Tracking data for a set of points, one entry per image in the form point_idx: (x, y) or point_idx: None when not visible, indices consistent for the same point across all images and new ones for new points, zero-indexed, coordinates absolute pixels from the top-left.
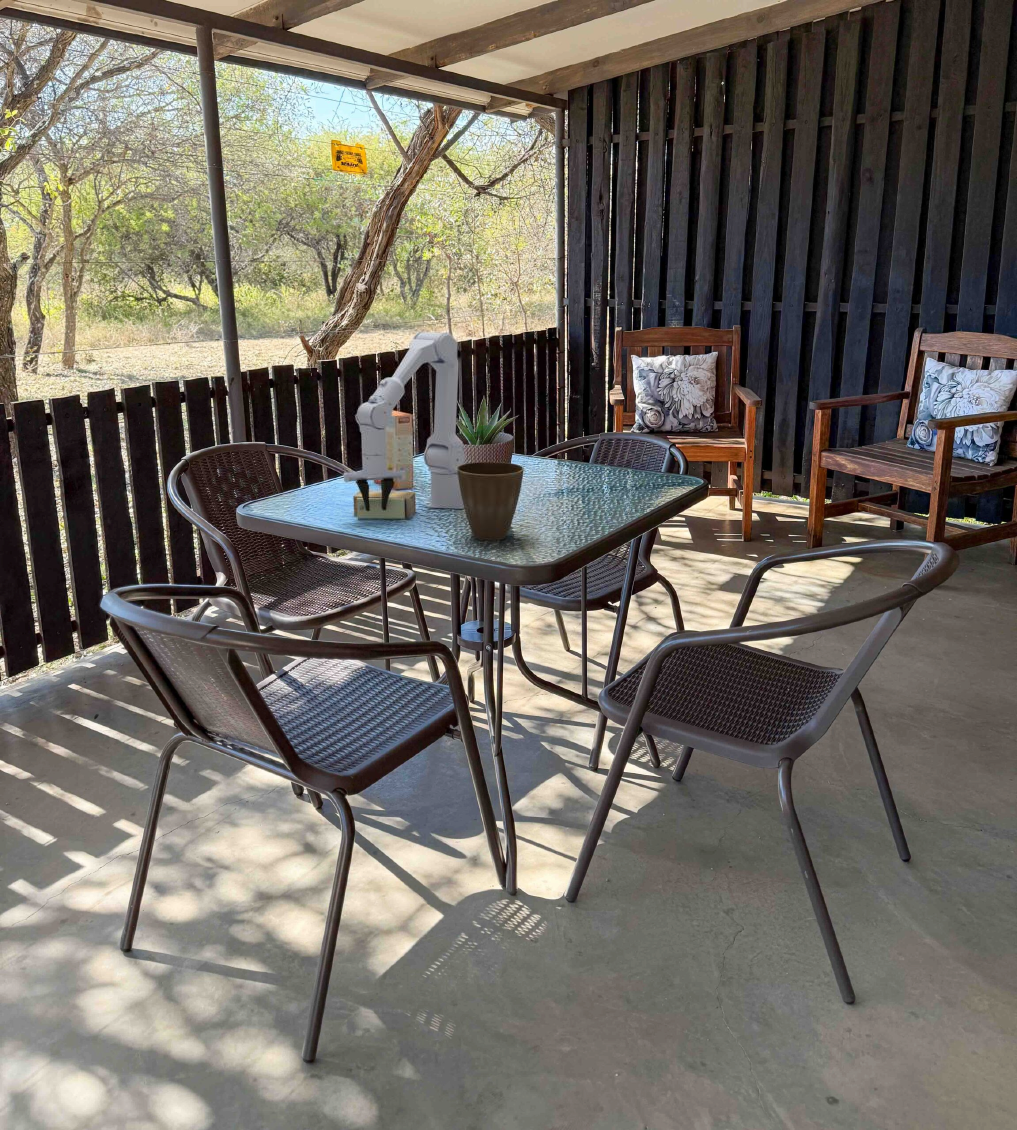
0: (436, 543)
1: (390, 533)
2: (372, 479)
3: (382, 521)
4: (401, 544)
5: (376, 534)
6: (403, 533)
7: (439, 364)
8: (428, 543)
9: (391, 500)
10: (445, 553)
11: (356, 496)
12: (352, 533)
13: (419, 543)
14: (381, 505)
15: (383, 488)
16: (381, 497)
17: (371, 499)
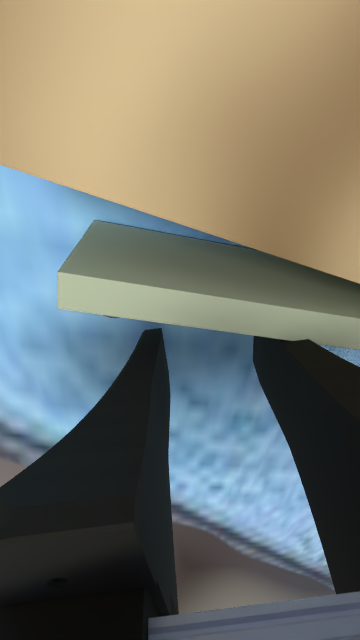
0: None
1: (228, 465)
2: (241, 635)
3: None
4: (235, 533)
5: (180, 470)
6: (270, 467)
7: None
8: (303, 530)
9: (351, 344)
10: (308, 569)
11: (30, 174)
12: None
13: (282, 529)
14: None
15: (322, 500)
16: (302, 264)
17: (196, 325)
